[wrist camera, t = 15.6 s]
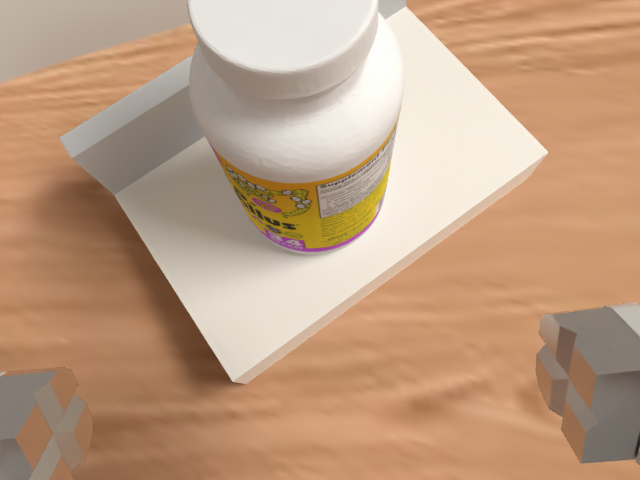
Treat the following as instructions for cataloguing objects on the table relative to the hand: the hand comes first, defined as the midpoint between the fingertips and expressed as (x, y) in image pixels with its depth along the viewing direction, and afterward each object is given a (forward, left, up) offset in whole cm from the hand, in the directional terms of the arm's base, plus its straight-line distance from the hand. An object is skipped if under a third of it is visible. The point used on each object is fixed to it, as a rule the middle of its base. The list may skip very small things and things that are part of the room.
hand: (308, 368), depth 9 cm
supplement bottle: (+5, +8, -14) cm, 16 cm away
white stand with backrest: (+6, +9, -17) cm, 19 cm away
